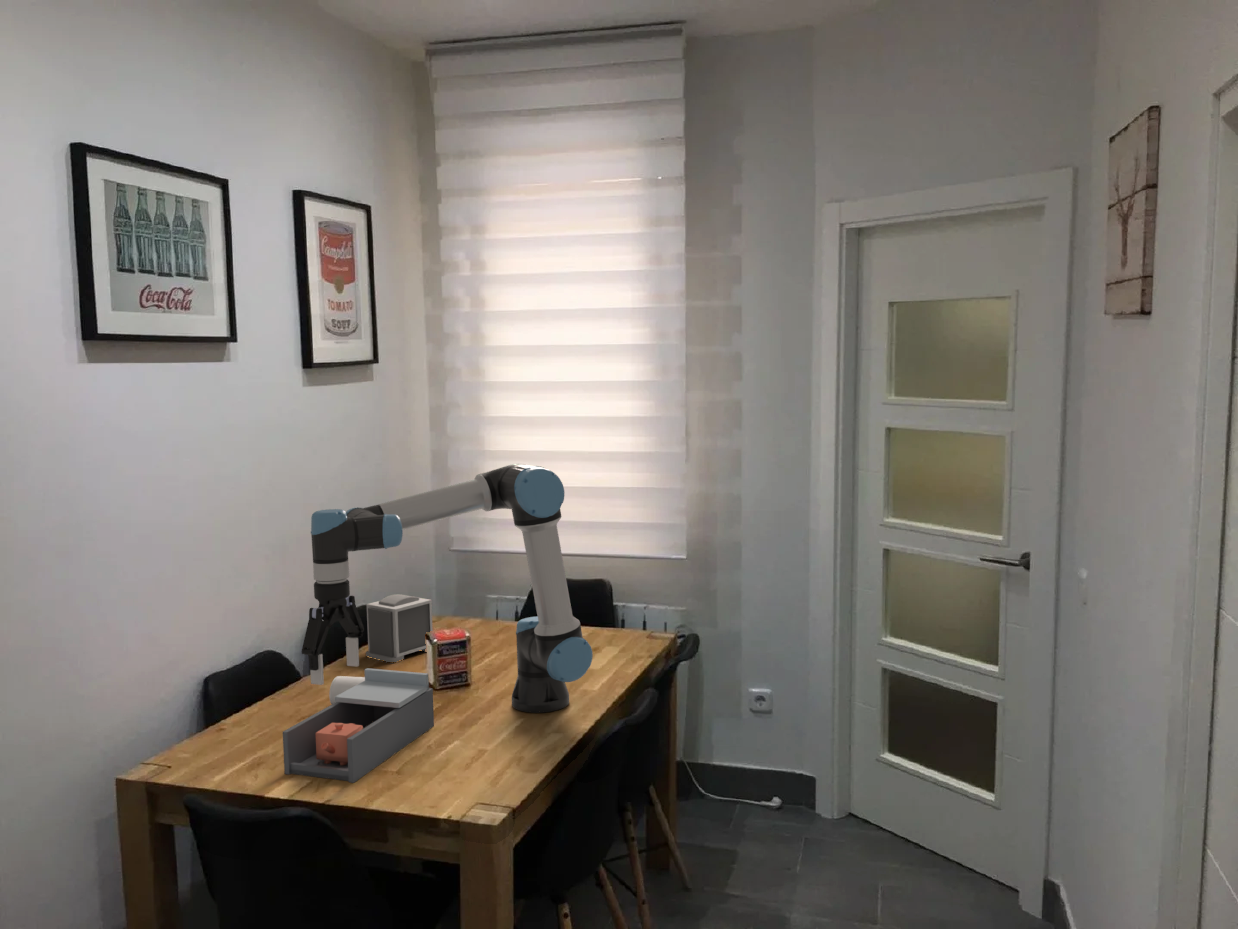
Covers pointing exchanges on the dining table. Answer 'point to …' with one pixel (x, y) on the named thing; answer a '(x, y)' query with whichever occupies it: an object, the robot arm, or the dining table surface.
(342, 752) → the pink cube teapot
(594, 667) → the dining table surface
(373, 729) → the housing
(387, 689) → the lid
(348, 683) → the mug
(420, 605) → the grey panelled box
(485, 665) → the dining table surface
